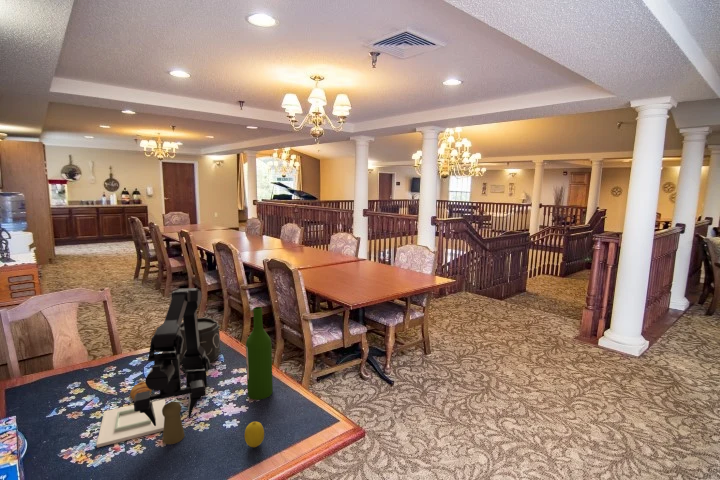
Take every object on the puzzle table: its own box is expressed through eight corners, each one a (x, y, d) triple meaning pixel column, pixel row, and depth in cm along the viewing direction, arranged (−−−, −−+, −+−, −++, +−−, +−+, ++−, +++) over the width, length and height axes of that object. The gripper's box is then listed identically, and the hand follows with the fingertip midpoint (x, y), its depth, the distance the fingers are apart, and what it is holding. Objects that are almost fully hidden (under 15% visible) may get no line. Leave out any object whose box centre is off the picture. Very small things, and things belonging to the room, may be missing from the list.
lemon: (247, 441, 115) (246, 416, 114) (265, 440, 116) (265, 415, 114) (243, 454, 110) (242, 428, 109) (262, 453, 110) (262, 427, 109)
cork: (176, 445, 113) (173, 411, 111) (157, 442, 114) (155, 408, 112) (189, 432, 119) (186, 399, 117) (171, 430, 120) (169, 397, 118)
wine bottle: (247, 388, 144) (244, 305, 139) (271, 385, 147) (269, 303, 141) (248, 401, 135) (244, 313, 130) (273, 397, 138) (271, 310, 133)
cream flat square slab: (165, 400, 136) (164, 395, 135) (166, 429, 120) (165, 424, 120) (104, 414, 127) (104, 408, 127) (96, 447, 112) (96, 441, 111)
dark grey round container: (230, 352, 173) (229, 319, 171) (201, 370, 157) (199, 334, 154) (199, 346, 180) (197, 314, 177) (167, 363, 163) (165, 327, 161)
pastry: (153, 400, 136) (152, 390, 135) (131, 406, 132) (130, 396, 132) (151, 388, 144) (150, 379, 143) (130, 394, 140) (129, 384, 139)
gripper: (200, 355, 124) (203, 399, 127) (134, 367, 116) (138, 414, 118) (204, 370, 115) (206, 418, 117) (131, 384, 106) (136, 436, 109)
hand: (172, 420), depth 116 cm, fingers open, 9 cm apart
